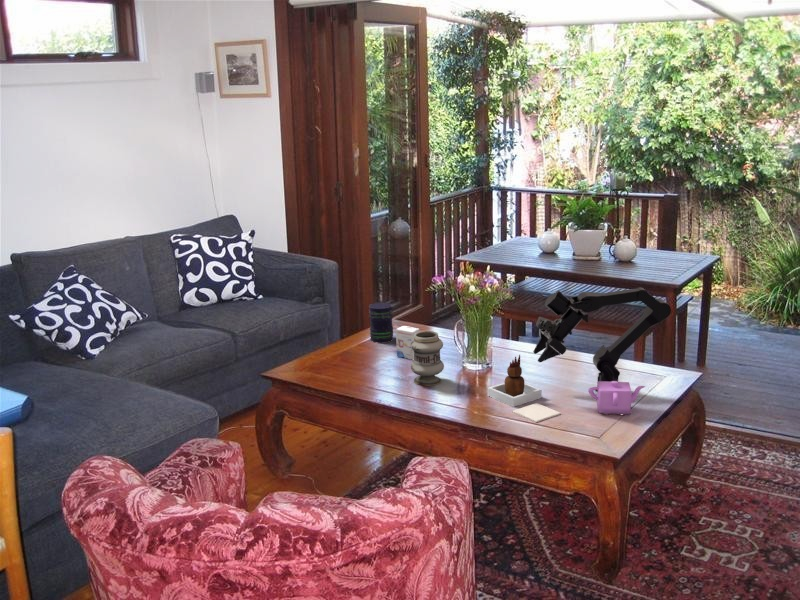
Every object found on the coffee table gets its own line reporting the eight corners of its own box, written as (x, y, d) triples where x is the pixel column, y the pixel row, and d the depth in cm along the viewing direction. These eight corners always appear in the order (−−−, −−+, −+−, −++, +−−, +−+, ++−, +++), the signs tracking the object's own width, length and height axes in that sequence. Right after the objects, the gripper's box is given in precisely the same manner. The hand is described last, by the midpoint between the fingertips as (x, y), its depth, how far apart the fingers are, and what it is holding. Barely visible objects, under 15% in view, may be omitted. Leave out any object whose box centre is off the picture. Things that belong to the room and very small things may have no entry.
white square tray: (541, 397, 294) (541, 389, 293) (513, 406, 286) (513, 398, 286) (515, 387, 304) (515, 379, 303) (487, 395, 297) (487, 387, 296)
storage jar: (365, 340, 363) (363, 306, 359) (380, 334, 370) (379, 301, 366) (383, 344, 357) (381, 309, 353) (398, 338, 364) (397, 304, 360)
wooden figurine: (524, 393, 298) (524, 352, 294) (524, 400, 292) (525, 358, 288) (504, 393, 298) (504, 352, 295) (504, 399, 293) (504, 358, 289)
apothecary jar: (405, 384, 310) (404, 336, 305) (419, 373, 320) (418, 327, 316) (436, 388, 305) (435, 340, 300) (449, 377, 315) (448, 331, 311)
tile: (560, 414, 279) (560, 412, 279) (536, 422, 273) (536, 421, 273) (536, 404, 288) (536, 402, 288) (512, 412, 282) (512, 410, 282)
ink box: (395, 356, 341) (395, 328, 338) (403, 353, 344) (402, 325, 341) (413, 360, 336) (413, 331, 333) (420, 356, 340) (420, 328, 337)
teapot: (642, 404, 285) (643, 376, 283) (646, 421, 272) (648, 391, 270) (586, 402, 288) (587, 374, 286) (588, 418, 275) (589, 389, 273)
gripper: (544, 301, 299) (514, 335, 302) (554, 316, 281) (522, 351, 284) (568, 321, 301) (538, 354, 304) (579, 337, 283) (547, 371, 286)
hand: (536, 357), depth 295 cm, fingers open, 9 cm apart
